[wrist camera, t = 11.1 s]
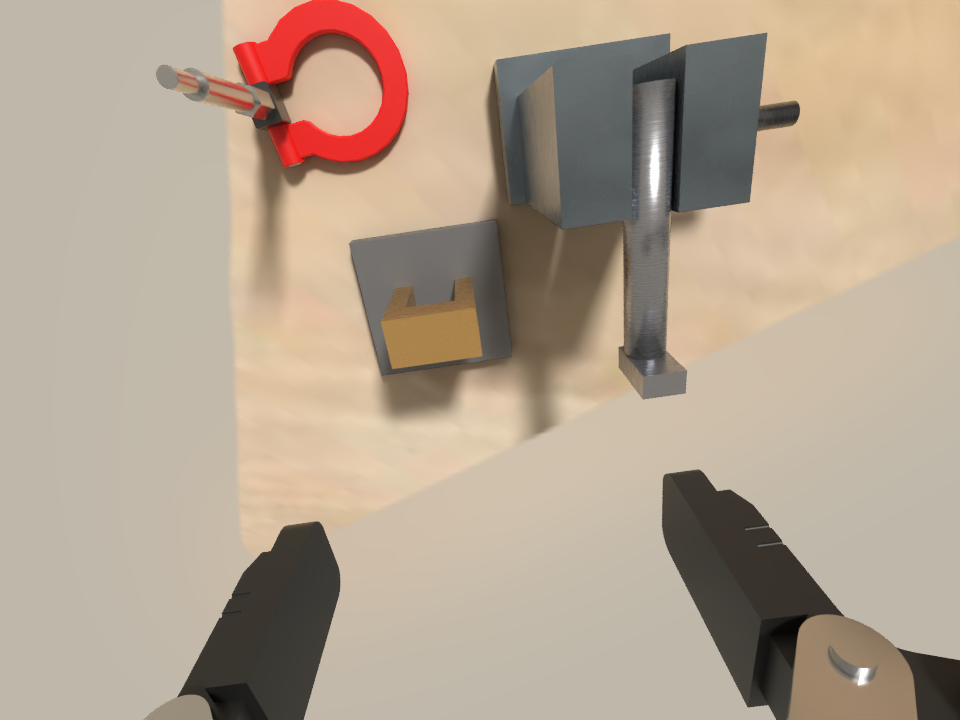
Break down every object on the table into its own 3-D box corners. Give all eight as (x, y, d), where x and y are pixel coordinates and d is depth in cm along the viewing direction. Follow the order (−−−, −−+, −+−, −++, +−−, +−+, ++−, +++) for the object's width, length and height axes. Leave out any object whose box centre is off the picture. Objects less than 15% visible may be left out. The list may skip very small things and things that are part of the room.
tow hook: (380, -15, 27) (229, 34, 27) (339, -149, 15) (72, -59, 15) (426, 140, 30) (293, 182, 30) (423, 130, 18) (205, 199, 19)
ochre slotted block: (471, 277, 32) (475, 308, 26) (477, 317, 33) (482, 356, 27) (395, 288, 32) (380, 321, 26) (404, 327, 34) (392, 369, 27)
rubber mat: (495, 219, 32) (496, 221, 31) (510, 350, 36) (512, 356, 35) (352, 240, 32) (349, 243, 31) (384, 368, 36) (382, 375, 35)
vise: (738, 28, 28) (991, -82, 15) (717, 283, 35) (878, 366, 21) (493, 65, 28) (526, -10, 15) (519, 312, 35) (558, 411, 22)
